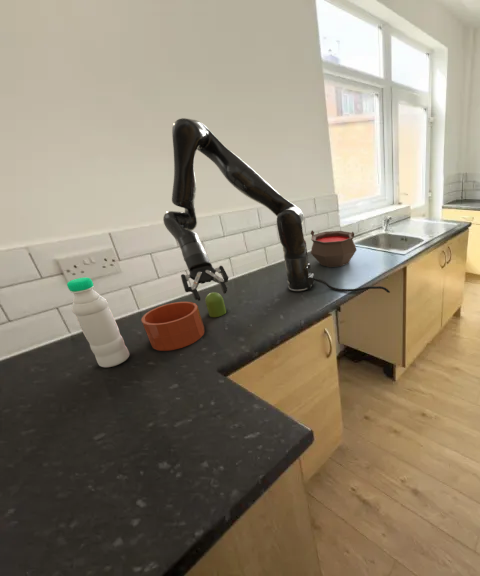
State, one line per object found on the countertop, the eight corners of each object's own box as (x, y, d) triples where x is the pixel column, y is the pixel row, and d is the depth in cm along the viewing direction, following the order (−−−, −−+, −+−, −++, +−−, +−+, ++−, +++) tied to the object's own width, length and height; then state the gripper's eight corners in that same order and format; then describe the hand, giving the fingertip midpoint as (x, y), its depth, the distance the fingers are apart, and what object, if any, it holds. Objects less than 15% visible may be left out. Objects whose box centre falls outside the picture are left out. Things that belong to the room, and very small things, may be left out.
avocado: (228, 309, 117) (223, 289, 114) (222, 316, 112) (217, 296, 109) (213, 310, 117) (207, 290, 114) (206, 317, 112) (200, 296, 109)
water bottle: (136, 355, 92) (102, 276, 82) (110, 370, 86) (70, 287, 76) (119, 351, 94) (85, 273, 84) (93, 365, 88) (52, 283, 78)
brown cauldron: (364, 256, 170) (362, 225, 163) (349, 272, 149) (347, 238, 142) (322, 253, 175) (319, 224, 168) (302, 269, 154) (298, 236, 147)
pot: (212, 324, 108) (205, 300, 104) (190, 349, 94) (182, 323, 91) (168, 326, 107) (160, 302, 104) (140, 352, 94) (129, 326, 90)
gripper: (173, 257, 109) (189, 298, 106) (217, 248, 117) (234, 286, 114) (174, 267, 115) (190, 306, 111) (216, 258, 123) (232, 294, 120)
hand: (212, 296), depth 113 cm, fingers open, 8 cm apart
